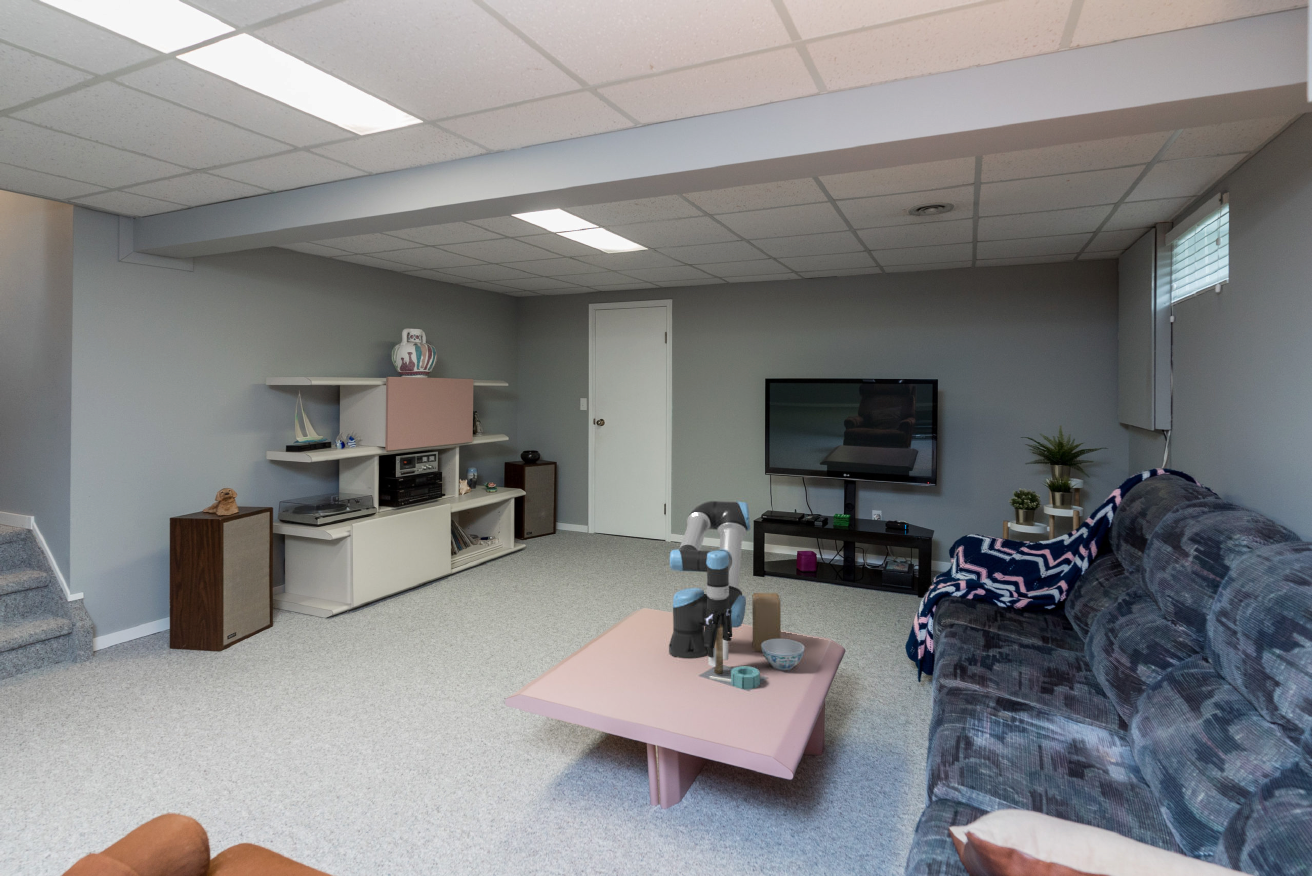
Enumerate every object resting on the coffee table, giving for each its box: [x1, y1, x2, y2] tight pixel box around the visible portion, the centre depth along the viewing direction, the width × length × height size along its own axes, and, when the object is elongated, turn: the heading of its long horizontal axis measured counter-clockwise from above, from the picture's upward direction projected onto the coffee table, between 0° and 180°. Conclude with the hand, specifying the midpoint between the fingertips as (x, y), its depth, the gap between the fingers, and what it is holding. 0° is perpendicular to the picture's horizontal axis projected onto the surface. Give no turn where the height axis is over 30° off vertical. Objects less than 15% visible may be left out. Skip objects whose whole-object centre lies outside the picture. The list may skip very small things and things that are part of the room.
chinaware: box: [761, 638, 806, 671], centre depth 241 cm, size 15×15×8 cm
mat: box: [698, 664, 769, 692], centre depth 233 cm, size 20×13×1 cm, turn 51°
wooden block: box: [751, 592, 782, 653], centre depth 259 cm, size 10×10×20 cm
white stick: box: [709, 676, 731, 682], centre depth 230 cm, size 8×1×1 cm, turn 66°
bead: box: [731, 665, 761, 690], centre depth 227 cm, size 9×9×4 cm
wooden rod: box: [714, 624, 724, 674], centre depth 236 cm, size 3×3×17 cm
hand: (718, 662), depth 236 cm, fingers open, 7 cm apart
